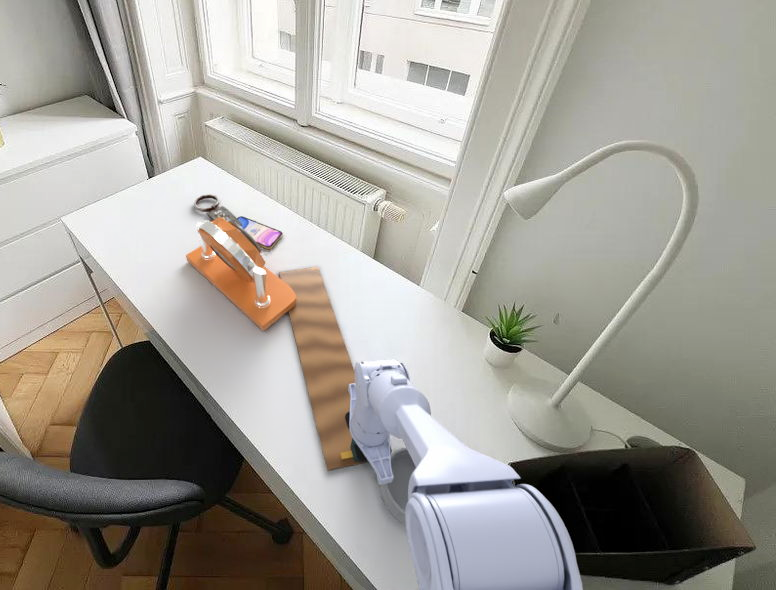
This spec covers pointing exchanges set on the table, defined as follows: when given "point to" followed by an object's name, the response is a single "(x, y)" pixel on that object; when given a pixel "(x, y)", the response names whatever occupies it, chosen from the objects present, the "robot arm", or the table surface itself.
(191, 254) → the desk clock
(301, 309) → the mat
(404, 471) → the bowl
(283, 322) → the table surface
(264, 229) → the smartphone
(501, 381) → the table surface
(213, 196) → the keychain
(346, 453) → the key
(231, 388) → the table surface
